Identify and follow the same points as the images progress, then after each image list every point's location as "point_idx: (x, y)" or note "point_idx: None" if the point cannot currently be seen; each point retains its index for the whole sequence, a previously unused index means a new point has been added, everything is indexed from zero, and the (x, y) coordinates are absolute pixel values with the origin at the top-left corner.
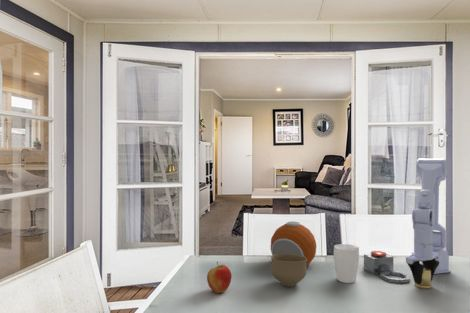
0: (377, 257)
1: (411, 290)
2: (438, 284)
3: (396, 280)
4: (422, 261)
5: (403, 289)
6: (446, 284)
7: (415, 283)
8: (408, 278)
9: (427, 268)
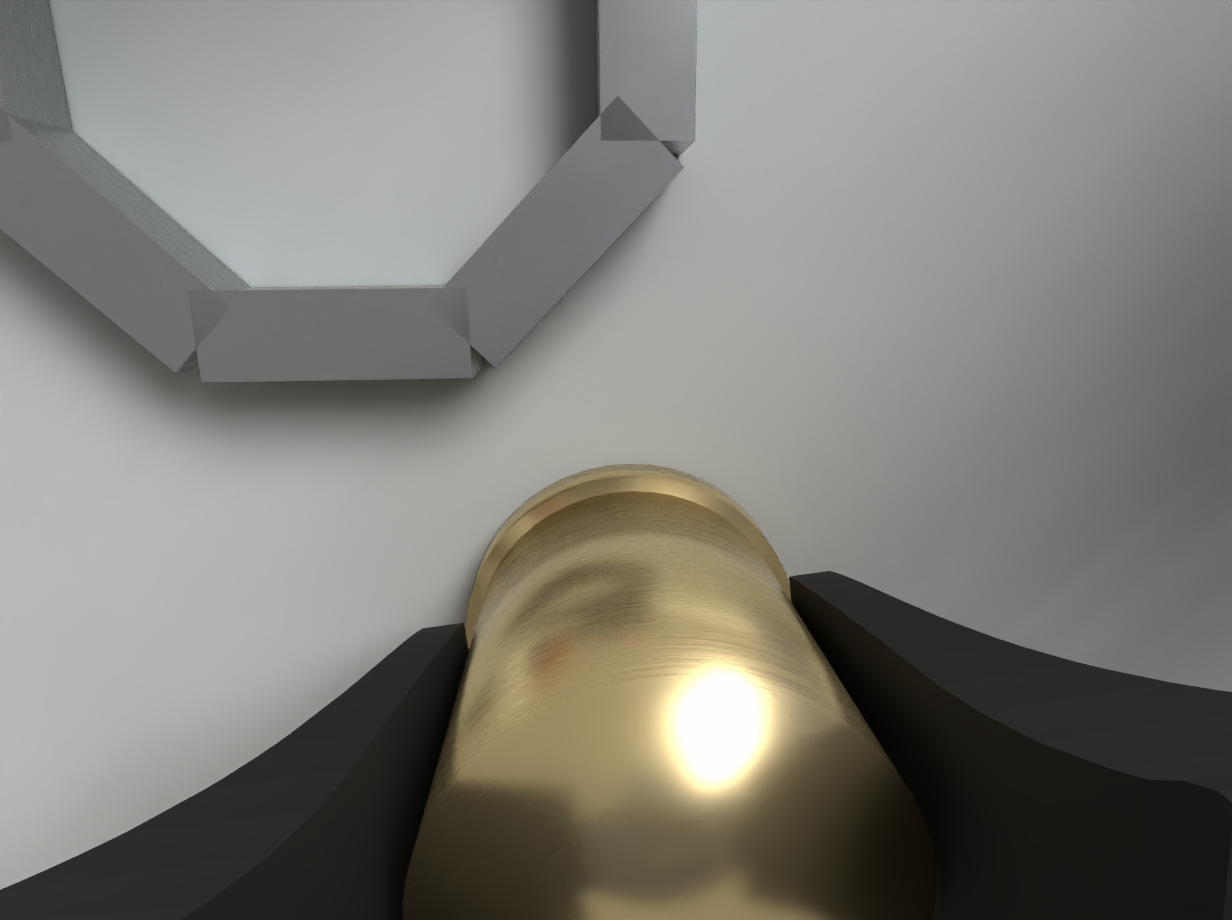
0: None
1: (231, 732)
2: (996, 620)
3: (127, 319)
4: (1077, 783)
5: (98, 657)
6: (1137, 657)
7: (480, 584)
8: (495, 341)
9: (867, 917)
